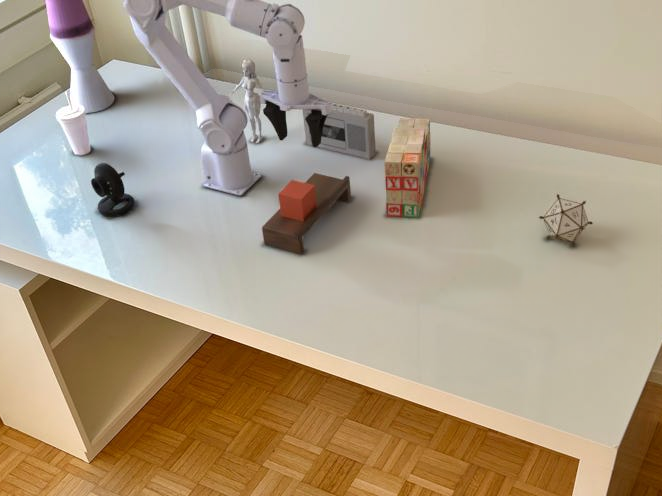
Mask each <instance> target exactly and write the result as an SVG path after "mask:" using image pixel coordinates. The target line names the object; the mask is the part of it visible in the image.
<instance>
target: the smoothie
mask: <svg viewBox="0 0 662 496" xmlns="http://www.w3.org/2000/svg"><path fill="white" fill-rule="evenodd" d="M65 96H66V98H67V102H68V105H66V106H63V107H61V108H59V109H58V110H57V111H56V113H55V117H56V120H57V121H58V122H59V123H60V125H61V128H62V130H63V131H64V134H65V136H66V138H67V140H68V142H69V145H70V146H71V149H72V151H73V153H74V154H75V155H76V156H85V155H88V154H89V153H90V152H91V151H92V149H91V143H90V136H89V130H88V123H87V118H86V116H87V113H86V111H85V108H84V107H83V106H81V105H72V104H71V100H70V94H69V91H68V90H66V91H65Z"/></svg>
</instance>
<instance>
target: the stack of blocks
mask: <svg viewBox="0 0 662 496" xmlns="http://www.w3.org/2000/svg"><path fill="white" fill-rule="evenodd" d="M391 134H392V135H391V140H390V144H389V146H388V149H387V153H386V156H385V160H384V174H385V175H384V176H385V177H384V178H385V180H384V181H385V182H384V183H385V198H386V203H385V207H386V217H392V218H393V217H395V218H416V219H417V218H419V215H420V210H421V208H422V203H423V199H424V195H425V187H426V181H427V176H428V173H429V169H430V162H431V119H430V118H419V117H418V118H417V117H415V118H408V117H407V118H405V117H401V118H400V117H399V121H398V125H397V127H393V130H392V133H391Z"/></svg>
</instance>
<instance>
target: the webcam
mask: <svg viewBox="0 0 662 496" xmlns="http://www.w3.org/2000/svg"><path fill="white" fill-rule="evenodd" d="M93 175H94V177H93V178H92V179H91V181H90V184H91V187H92V190H93V191H94V192H95V194H96V195H98V196H99V197H100V198H101V199H100V200H99V202H98V203H97V211H98V213H99V214H100V215H102V216H104V217H107V218H116V217H120V216H124V215H126V214H129V212H131V211H132V210H133V209H134V207H135V199H134V197H133V196H132V195H131V194H128V193H126V192H125V191H126V190H125V185H124V181H123V180H122V177H124V176H125V172H124V171H122V172H120V173H119V172H118V171H117V170H116V169H115V168H114V167H113V166H112V165H111V164H109V163H107V162H100V163H98V164H97V165H95V167H94V170H93ZM123 202H126V204H125V205H124V206H122V207H120V208H116V209H114V208H115V207H116V206H118V205H119V204H121V203H123Z"/></svg>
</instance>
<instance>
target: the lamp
mask: <svg viewBox="0 0 662 496" xmlns="http://www.w3.org/2000/svg"><path fill="white" fill-rule="evenodd" d="M45 5H46V13H47V19H48V27H49V37H50V39H51V41H52V42H53V43H54V45H55V46H56V48H57V49H58V51H59V52H60V54H61V56H63V57H64V60H65V61H66V62H67V64H68V65H69V67H70V95H69V97H70V100H71V104H72V105H81V106H83V107H84V108H85V111H86V114H91V113H92V114H93V113H97V112H100V111H103V110H105V109H107V108H109V107H110V106H112V104H113V103H114V101H115V96H114V94H113V92H112V91H111V89H110V88H109V87H108V85H107V83H106V82H105V80H104V79H103V77H102V75H101V74H100V72H99V71H98V69H97V68H96V65H94V51H95V35H96V33H95V32H96V27H95V25H94V24H93V22H92V20H91V17H90V15H89V12H88V10H87V7H86V5H85V3H84V1H83V0H45Z"/></svg>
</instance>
